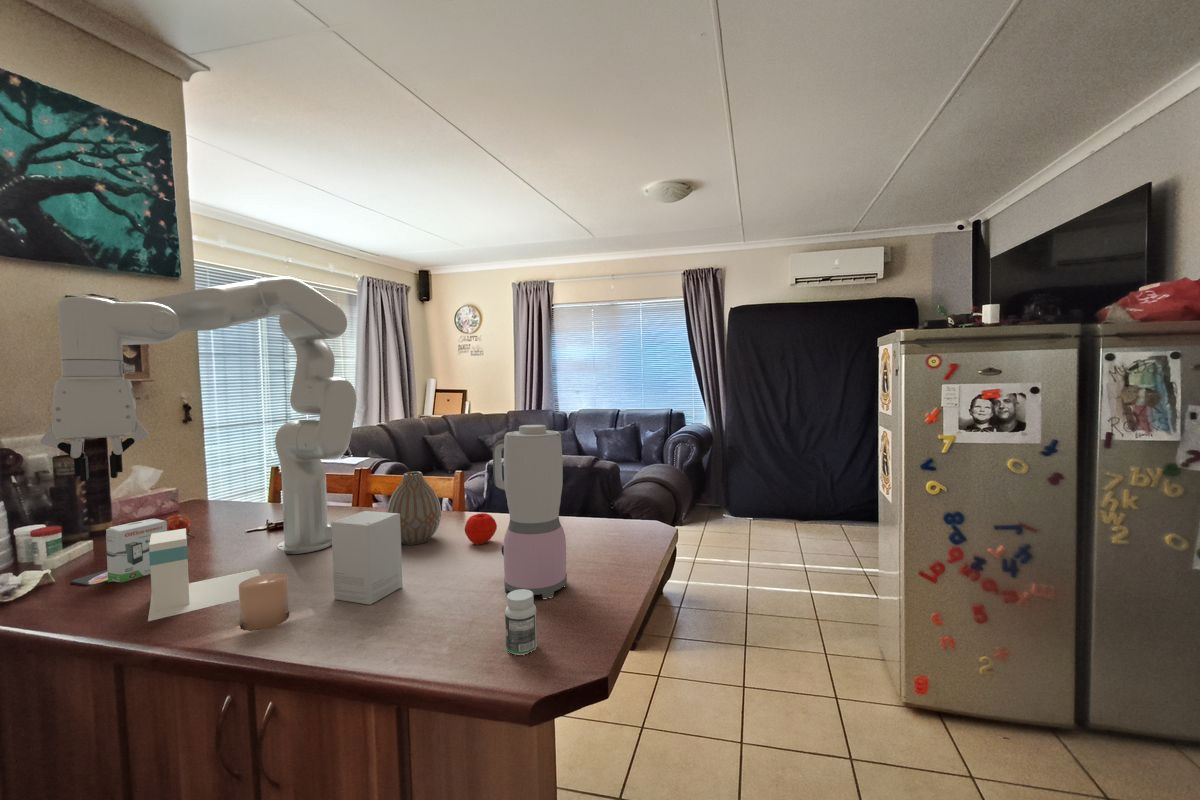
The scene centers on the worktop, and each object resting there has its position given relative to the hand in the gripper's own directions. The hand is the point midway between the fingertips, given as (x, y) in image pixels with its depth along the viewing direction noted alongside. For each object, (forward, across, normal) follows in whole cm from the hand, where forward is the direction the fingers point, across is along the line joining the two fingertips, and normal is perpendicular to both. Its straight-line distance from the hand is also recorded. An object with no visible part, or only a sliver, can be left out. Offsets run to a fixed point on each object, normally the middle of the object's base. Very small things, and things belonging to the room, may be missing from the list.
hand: (99, 477), depth 87 cm
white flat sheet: (+25, -14, 0) cm, 29 cm away
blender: (+25, -63, +36) cm, 77 cm away
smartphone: (+26, 0, -30) cm, 40 cm away
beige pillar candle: (+25, -21, +18) cm, 37 cm away
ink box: (+25, -3, -22) cm, 34 cm away
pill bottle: (+25, -50, +55) cm, 79 cm away
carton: (+24, -8, 0) cm, 25 cm away
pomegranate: (+26, -9, -49) cm, 56 cm away
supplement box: (+25, -38, +18) cm, 49 cm away
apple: (+25, -68, +5) cm, 73 cm away
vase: (+25, -56, -8) cm, 62 cm away
